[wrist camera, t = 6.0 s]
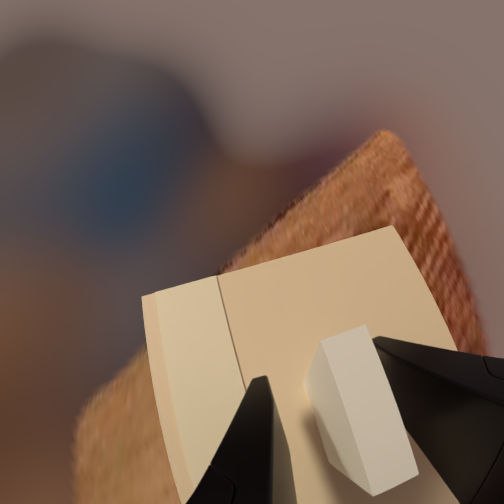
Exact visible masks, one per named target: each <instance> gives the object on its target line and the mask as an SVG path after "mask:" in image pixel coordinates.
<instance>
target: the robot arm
mask: <svg viewBox="0 0 504 504" xmlns="http://www.w3.org/2000/svg"><path fill="white" fill-rule="evenodd" d="M372 341H373V344H374V346H375V349H376V351H377V354H378V356H379V359H380V361H381V364H382V366H383V369H384V372H385V374H386V377H387V379H388V382H389V385H390V387H391V390H392V393H393V396H394V398H395V401H396V404H397V407H398V410H399V413H400V415H401V418H402V421H403V424H404V427H405V429H406V430H407V431H408V433H409V434H410V435H411V437H412V438H413V440H414V441H415V442H416V444H417V445H418V446H419V448H420V449H421V450H422V452H423V453H424V455H425V456H426V457H427V459H428V460H429V461H430V463H431V464H432V466H433V467H434V468H435V470H436V471H437V472H438V474H439V475H440V477H441V478H442V479H443V481H444V482H445V484H446V485H447V486H448V488H449V489H450V491H451V492H452V493H453V495H454V496H455V498H456V499H457V500H458V502H459V503H460V504H504V359H503V358H495V357H489V356H483V357H482V356H481V355H477V354H471V353H465V352H459V351H454V350H448V349H443V348H438V347H432V346H427V345H422V344H417V343H412V342H407V341H403V340H398V339H393V338H388V337H384V336H377V337H375V338H372ZM210 464H211V465H209V466H208V468H207V470H206V472H205V473H204V475H203V477H202V479H201V480H200V482H199V484H198V486H197V487H196V489H195V491H194V492H193V494H192V495H191V496H190V498H189V499H188V501H187V502H186V503H185V504H297V498H296V491H295V484H294V477H293V470H292V463H291V456H290V451H289V446H288V442H287V439H286V435H285V432H284V429H283V425H282V422H281V419H280V415H279V412H278V409H277V405H276V402H275V399H274V396H273V392H272V389H271V386H270V382H269V379H268V376H266V375H263V376H260V377H256V378H253V379H252V380H251V382H250V384H249V386H248V388H247V390H246V392H245V394H244V397H243V399H242V401H241V403H240V405H239V407H238V409H237V411H236V413H235V415H234V417H233V419H232V421H231V423H230V425H229V427H228V429H227V431H226V433H225V435H224V437H223V439H222V441H221V443H220V445H219V447H218V449H217V451H216V453H215V455H214V457H213V459H212V460H211V462H210Z"/></svg>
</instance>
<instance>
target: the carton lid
mask: <svg viewBox="0 0 504 504" xmlns="http://www.w3.org/2000/svg"><path fill="white" fill-rule="evenodd" d="M142 305H143V316H144V324H145V333H146V341H147V348H148V356H149V362H150V369H151V375H152V381H153V387H154V393H155V398H156V403H157V408H158V413H159V418H160V423H161V428H162V432H163V437H164V441H165V445H166V449H167V454H168V458H169V461H170V465H171V469H172V473H173V476H174V480H175V484H176V487H177V490H178V494H179V497H180V500H181V504H185V503H186V502H187V501H188V499H189V498H190V496H191V495H192V494H193V492H194V491H195V489H196V487H197V486H198V484H199V482H200V480H201V479H202V477H203V475H204V473H205V472H206V470H207V468H208V466H209V465H211V464H210V462H211V460H212V459H213V457H214V455H215V453H216V451H217V449H218V447H219V445H220V443H221V441H222V439H223V437H224V435H225V433H226V431H227V429H228V427H229V425H230V423H231V421H232V419H233V417H234V415H235V413H236V411H237V409H238V407H239V405H240V403H241V401H242V399H243V397H244V394H245V392H246V390H247V388H248V386H249V384H250V382H251V380H252V379H253V378H256V377H260V376H263V375H266V376H268V379H269V382H270V386H271V389H272V392H273V396H274V399H275V402H276V405H277V409H278V412H279V415H280V419H281V422H282V425H283V429H284V432H285V435H286V439H287V442H288V446H289V451H290V456H291V463H292V470H293V477H294V484H295V491H296V498H297V504H460V503H459V502H458V500H457V499H456V498H455V496H454V495H453V493H452V492H451V491H450V489H449V488H448V486H447V485H446V484H445V482H444V481H443V479H442V478H441V477H440V475H439V474H438V472H437V471H436V470H435V468H434V467H433V466H432V464H431V463H430V461H429V460H428V459H427V457H426V456H425V455H424V453H423V452H422V450H421V449H420V448H419V446H418V445H417V444H416V442H415V441H414V440H413V438H412V437H411V435H410V434H409V433H408V431H407V430H406V429H405V427H404V424H403V421H402V418H401V415H400V413H399V410H398V407H397V404H396V401H395V398H394V396H393V393H392V390H391V387H390V385H389V382H388V379H387V377H386V374H385V372H384V369H383V366H382V364H381V361H380V359H379V356H378V354H377V351H376V349H375V346H374V344H373V341H372V338H375V337H377V336H384V337H388V338H393V339H398V340H403V341H407V342H412V343H417V344H422V345H427V346H432V347H438V348H443V349H448V350H454V351H457V348H456V346H455V344H454V341H453V339H452V337H451V334H450V332H449V330H448V328H447V325H446V323H445V321H444V319H443V317H442V315H441V313H440V311H439V308H438V306H437V304H436V302H435V300H434V298H433V296H432V294H431V292H430V290H429V288H428V287H427V285H426V283H425V281H424V279H423V277H422V275H421V273H420V271H419V270H418V268H417V266H416V264H415V262H414V261H413V259H412V257H411V255H410V254H409V252H408V250H407V248H406V247H405V245H404V243H403V241H402V240H401V238H400V236H399V235H398V233H397V231H396V230H395V228H394V227H393V225H392V226H388V227H385V228H382V229H378V230H375V231H371V232H368V233H365V234H361V235H358V236H355V237H351V238H348V239H344V240H341V241H338V242H334V243H331V244H327V245H324V246H321V247H317V248H314V249H310V250H307V251H303V252H300V253H296V254H293V255H289V256H286V257H283V258H279V259H276V260H272V261H269V262H265V263H261V264H258V265H254V266H251V267H247V268H244V269H240V270H237V271H233V272H230V273H226V274H222V275H219V276H212V277H209V278H205V279H202V280H198V281H194V282H191V283H187V284H183V285H180V286H176V287H172V288H169V289H165V290H162V291H158V292H155V293H153V294H150V295H146V296H142Z"/></svg>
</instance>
